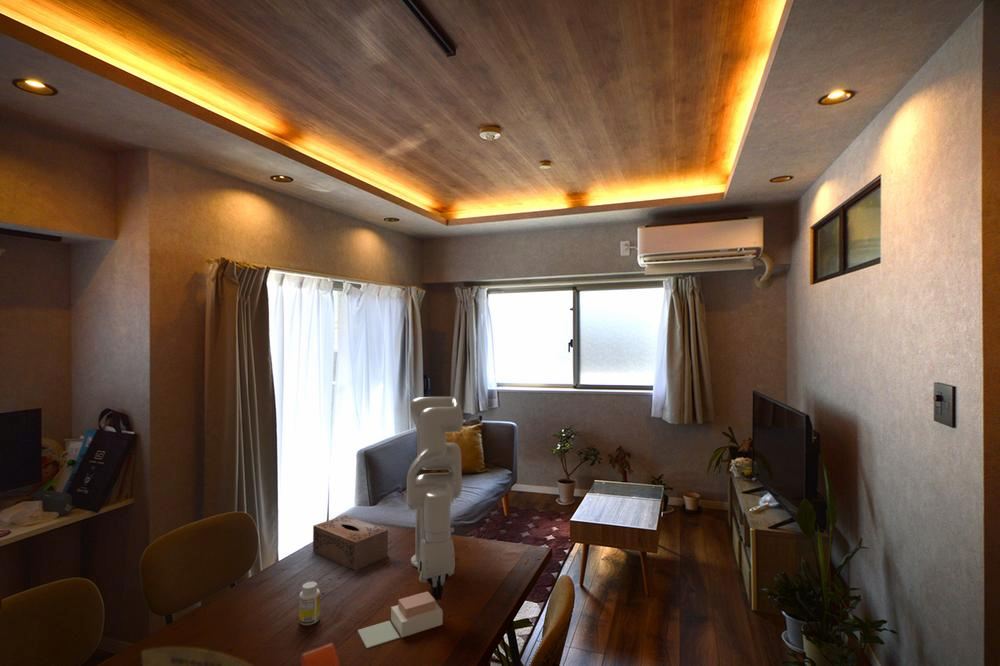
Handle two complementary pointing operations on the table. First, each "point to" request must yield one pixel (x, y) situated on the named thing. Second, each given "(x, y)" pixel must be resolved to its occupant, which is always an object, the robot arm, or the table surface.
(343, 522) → the tissue box cover
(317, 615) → the supplement bottle
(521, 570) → the table surface
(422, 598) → the pink rectangular block
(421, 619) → the white rectangular block
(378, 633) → the mat
